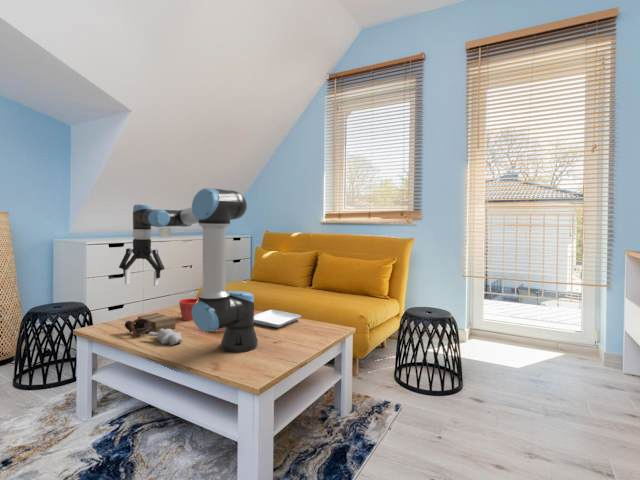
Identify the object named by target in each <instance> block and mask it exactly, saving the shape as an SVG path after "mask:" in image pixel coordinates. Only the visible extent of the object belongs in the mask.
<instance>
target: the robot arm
mask: <svg viewBox="0 0 640 480" xmlns="http://www.w3.org/2000/svg"><path fill="white" fill-rule="evenodd" d="M247 208H248V203H247V199H246V198H245V197H244V195H243V194H242V193H240V192H238V191H235V190H230V189H229V190H228V189H220V188H213V187H212V188H202V189H200V190H198V191H197V193H196V194H195V195H194V197H193V199H192V202H191V207H187V208H184V209H183V208H182V209H179V210H178V209H176V210H175V209H174V210H172V209H152V206H151V205H150V204H134V205H133V208H132V238H133V239H132V247H133V248H131V247H129V248H126V249H125V253H124V256H123V258H122V260H121V262H120V264H119V266H118V268H119V269H120V270H123V271H122V272H123V274H122V275H123V277H124V285H129V284H130V283H131V270H130V267H131V266H132V265H133V264H134V263H135V261H136V260H146V261H147V262H148V263H149V265H151V267H152V268H153V269H154V270H155V271H153V287H155V286H158V285H159V279H160V278H161V271H163V270H165V266H164V264H163V261H162V260H161V257H160V255H159V251H158V249H152V239H151V238H152V227H155V228H164V227H165V228H166V227H183V228H186V227H191V226H192V225H194V224H198V225H199V226H200V228H202V290H201V292H200V293H199V294H198V299H199V300H198V302H197V303H195V304H194V306H193V307H192V318H193V320H192V321H193V322H194V324H195V325H196V327H197V328H198V329H199V330H201V331H202V332H211V331H217V330H219V329H222V328H225V329H224V333H223V335H222V339H221V341H220V348H221V349H222V350H223V351H226V352H230V353H243V352H248V351H252V350H254V349H257V347H258V346H259V344H258V338H257V334H256V330H255V326H254V324H255V323H254V315H255V303H256V302H255V296H254V294H253V293H251V292H248V291H242V290H241V291H240V290H228V291H227V290H226V288H227V287H226V284H227V283H226V281H227V280H226V279H227V278H226V277H227V272H226V271H227V267H226V266H227V263H226V261H227V259H226V258H227V229H228V227H229V226H230V225H231V220H232V221H233V220H237V219H240V218H242V217H243V216H244V215H245V213H246V211H247ZM132 253H133V255H131V254H132ZM152 256H153V257H152ZM130 257H131V258H130ZM129 258H130V259H129Z"/></svg>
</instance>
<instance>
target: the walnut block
mask: <svg viewBox="0 0 640 480" xmlns="http://www.w3.org/2000/svg"><path fill="white" fill-rule="evenodd" d="M139 318H143V319H147V320H148V321H149V323H150V327H151V329H149V330H148V331H147V332H156V333H159V329H164V330H165V329H171V330H175V329H176V318H175V317H172V316H169V315H165V314H162V313H158V312H154V313H149V314H144V315H140V316H139V315H138V316H137V319H139ZM144 326H145V327H146V326H147V322H146V323H145V324H144Z"/></svg>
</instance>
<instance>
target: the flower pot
mask: <svg viewBox="0 0 640 480" xmlns="http://www.w3.org/2000/svg"><path fill="white" fill-rule="evenodd" d="M198 299H199V298H185V299H181V300H179V309H180V315H181V319H182V320H183V321H187V322H189V321H190V322H191V321H193V318H192V307H193V306H194V304H195V303H196V301H197V300H198Z"/></svg>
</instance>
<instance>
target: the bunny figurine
mask: <svg viewBox="0 0 640 480" xmlns="http://www.w3.org/2000/svg"><path fill="white" fill-rule="evenodd" d="M147 335H148V336H149V337H156V338H157V341H158V342H159V343H161V344H163V345H164V344H169V346H173V345H177V344H180V343H182V342H183V337H182V333H181V332H179V331H178V332H177V331H174V329H172V330H171V329H165V330H164V329H159V333H156V332H150V331H148V334H147Z"/></svg>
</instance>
